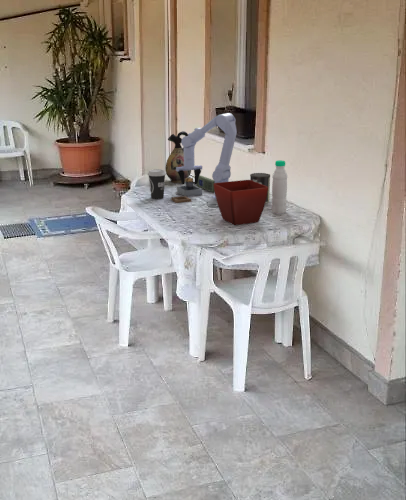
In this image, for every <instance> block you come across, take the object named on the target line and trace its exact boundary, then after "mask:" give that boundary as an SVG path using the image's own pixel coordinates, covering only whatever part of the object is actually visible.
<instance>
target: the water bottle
mask: <svg viewBox="0 0 406 500" xmlns="http://www.w3.org/2000/svg"><path fill="white" fill-rule="evenodd" d="M274 165H275V169H274V171H273V174H272V183H271V184H272V185H271V188H272V189H271V197H272V198H271V213H273V214H277V215H282V214H285V213H286V212H287V192H288V174H287V171H286V169H285V167H286V161H285V160H275V164H274Z"/></svg>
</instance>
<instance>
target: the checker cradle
mask: <svg viewBox="0 0 406 500" xmlns="http://www.w3.org/2000/svg"><path fill="white" fill-rule="evenodd" d="M170 200H171V201H172V202H174V203H175V204H182V203H191V202H193V201H192V199H191V198H190V197H189V196H183V195H181V196H172V197H171V198H170Z"/></svg>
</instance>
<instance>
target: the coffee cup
mask: <svg viewBox="0 0 406 500" xmlns="http://www.w3.org/2000/svg"><path fill="white" fill-rule="evenodd" d="M147 176H148V181H149V188H150V189H149V190H150V198H151V200H163V199H164V198H165V196H164V195H165V179H166V176H167V174H166V171H165V170H164V169H162V168H158V169H157V168H154V169H153V168H152V169H150V170H148V172H147Z"/></svg>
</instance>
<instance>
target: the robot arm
mask: <svg viewBox="0 0 406 500" xmlns="http://www.w3.org/2000/svg"><path fill="white" fill-rule="evenodd" d="M216 127H218V128H219V129H221V130H222V131H223V133H224V134H225V136H224V139H223V144H222V148H221V152H220V157H219V162H218V164H217V165H216V166H215V168H214V171H212V173H211V174H212V175H211V177H212V180H214V181H215V183H221V182H230V181H229V179H230V178H231V174H232V173H231V165H230V161H231V159H232V155H233V150H234V145H235V142H236V137H237V135H238V134H237V131H238V130H237V124H236V117H235V116H234V115H233V114H232V113H231V112H226V113H222V114H218V115H216V116H215V117H212V119H211V120H209V121H208V122H207V123H206V124H205V125H203V126H202V127H196V128H194V130H193V131H192V132H189V133H187V134H188V136H185V135H184V136H183V137H181V139H182V141H181V146H184V166H183V167H176V171H177V172H178V174H179V176H180V179H181V183H180V184H181V185H185V182H184V174H185V173H184V171H187V170H191V171H193V173H194V182H195V183H197V182H198V178H199V175H201V173H202V170H203V165H195V164H196V163H195V147H196V144H198V142H199V141H201V140H203V139H204V138H205V137H206V134H207V133H208V132H209V131H211V130H213V129H214V128H216ZM211 198H213V199H215V200H216V195H215V194H214V195H212V196H211Z"/></svg>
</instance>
